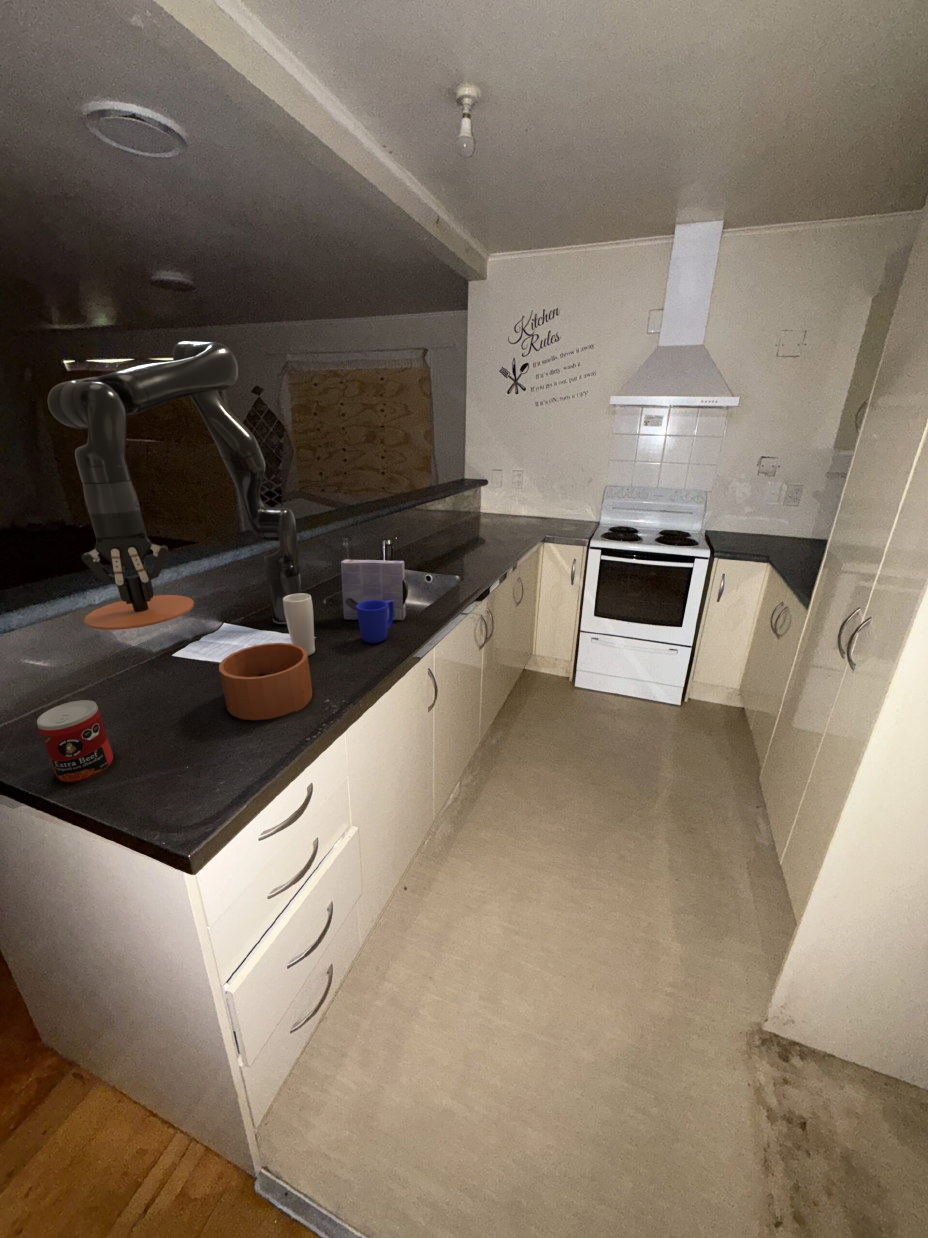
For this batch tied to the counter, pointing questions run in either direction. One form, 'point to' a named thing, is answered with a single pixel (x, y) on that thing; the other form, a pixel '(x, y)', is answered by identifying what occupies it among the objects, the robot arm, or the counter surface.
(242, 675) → the pot
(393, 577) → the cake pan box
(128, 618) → the pot lid
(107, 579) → the robot arm
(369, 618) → the mug
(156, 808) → the counter surface
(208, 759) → the counter surface
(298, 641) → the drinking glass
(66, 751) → the canned food
